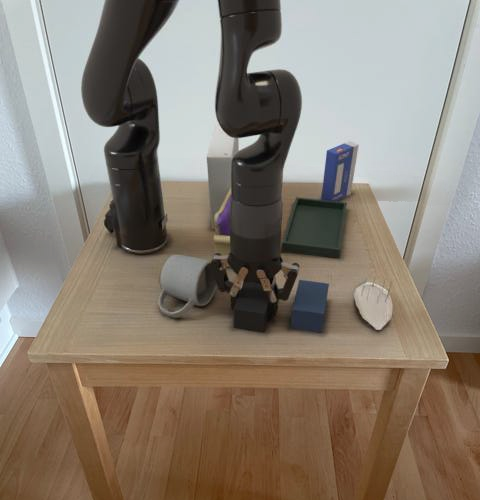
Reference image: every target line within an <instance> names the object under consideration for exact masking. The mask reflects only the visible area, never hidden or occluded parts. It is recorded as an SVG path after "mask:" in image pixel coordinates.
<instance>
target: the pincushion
mask: <svg viewBox="0 0 480 500" xmlns="http://www.w3.org/2000/svg"><path fill="white" fill-rule="evenodd" d="M375 279H376V278H374V280H373V281H375ZM366 280H367V277H366V279H365V280H364V281H363V283H362V284H360V285H359V286H357V287H356V288H355V289H354V294H353V298H354V301H355V306H356V308H357V309H358V310H359V315H360V316H361V317H362V319H364V320H365V321H366V322H368V324H369V325H370V326H372V327H373V328H374V329H375V330H376V331H377V330H378V331H381V330H382V329H383V328H384V327H385V326H386V325H387V323H388V322H390V320H391V319H392V316H393V308H394V305H393V301H392V297H391V295H390V292H391V287H392V282H393V281H391V282H390V286H389V288H388V290H387V289H386V288H385V286H384V285H385V282H386V277H385V278H384V283H383V285H382V286H381V285H379V284H375V282H369V281H368V282H367V281H366Z"/></svg>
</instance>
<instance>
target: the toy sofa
mask: <svg viewBox="0 0 480 500" xmlns="http://www.w3.org/2000/svg"><path fill="white" fill-rule="evenodd" d="M230 201H231V188H230V190H229V192H228V194H227V196H226V198H225V200H224V202H223V204H222V206H221V208H220V210H219V211H218V212H217V213H216V214H215V217H214V223H215V229H214V230H215V234H214V236H213V243H214V253H220V254H221V255H222V256H223V255H229V253H230V223H229V215H230ZM226 268H231V267H230V265H229V264H228V263H227V266H226Z"/></svg>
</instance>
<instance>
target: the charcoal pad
mask: <svg viewBox="0 0 480 500" xmlns="http://www.w3.org/2000/svg"><path fill="white" fill-rule="evenodd" d="M240 290H241V291H240V294H239V297H238V299H237V301H236V304H235V307H234V310H233V328H234V329H237V330H238V329H239V330H245V331H252V332H257V333H258V332H259V333H265V330H266V327H267V324H268V320H269V318H268V300H269V298H268V295H267V293H266V292H265V291H264V289H263V286H262V285H261V284H257V283H254V282H251V283H247V282H244V281H243V283H242V285H241V287H240Z"/></svg>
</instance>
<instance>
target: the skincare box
mask: <svg viewBox="0 0 480 500" xmlns="http://www.w3.org/2000/svg"><path fill="white" fill-rule="evenodd" d="M211 133H212V134H211V136H210V137H211V138H210V141H209V146H208V150H207V154H206V167H207V168H206V169H207V181H208V193H209V206H210V208H209V209H210V210H209V211H210V223H211V230H215V223H214V217H215V214H216V213H217V212H218V211H219V210H220V208H221V206H222V204H223V202H224V200H225V198H226V196H227V194H228V192H229V190H230V188H231V160H232V157H233V155H234V154H235V153H236V152H238V151H239V150H240V147H239V144H240V143H239V138H232V137H230V136H228V135H227V134H226V133H225V132H224V131H223V130H222V129H221V127H220V125H219V123H218V121H217V118H216V117H215V121H214V126H213V129H212V132H211Z"/></svg>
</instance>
